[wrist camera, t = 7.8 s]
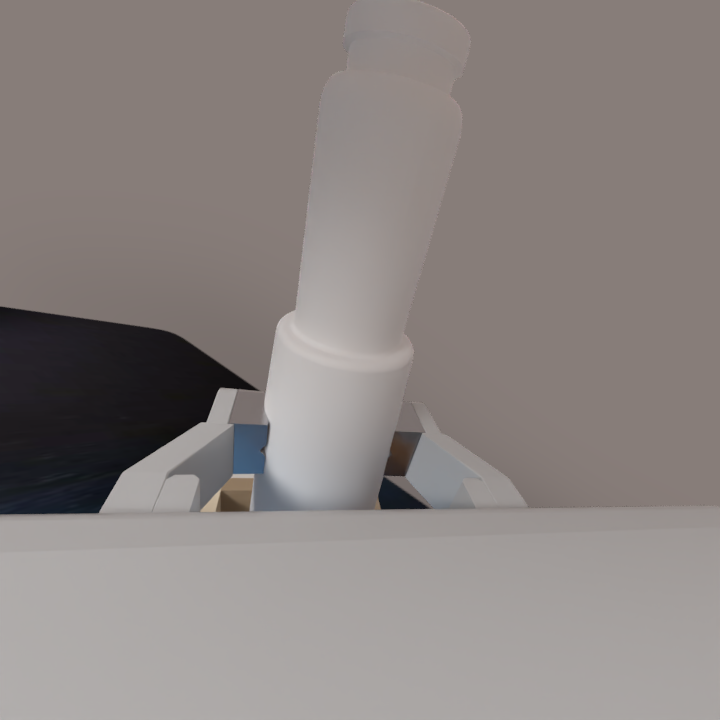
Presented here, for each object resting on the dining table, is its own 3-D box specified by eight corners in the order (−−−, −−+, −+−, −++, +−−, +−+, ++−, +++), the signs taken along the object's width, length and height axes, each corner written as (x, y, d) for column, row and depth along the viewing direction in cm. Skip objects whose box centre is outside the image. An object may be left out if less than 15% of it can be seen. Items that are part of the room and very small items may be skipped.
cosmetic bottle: (249, 557, 18) (286, 51, 8) (353, 577, 19) (515, 106, 8) (192, 706, 13) (104, -203, 3) (340, 733, 13) (736, -38, 3)
